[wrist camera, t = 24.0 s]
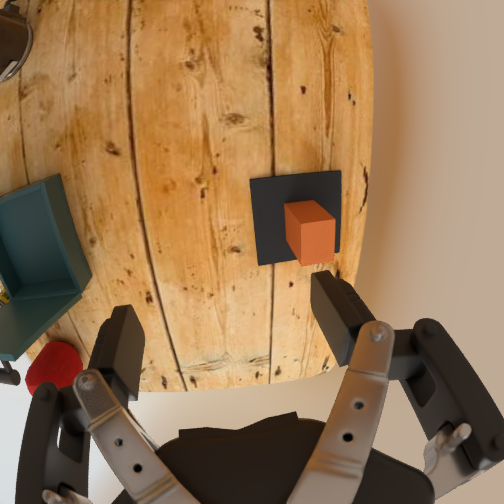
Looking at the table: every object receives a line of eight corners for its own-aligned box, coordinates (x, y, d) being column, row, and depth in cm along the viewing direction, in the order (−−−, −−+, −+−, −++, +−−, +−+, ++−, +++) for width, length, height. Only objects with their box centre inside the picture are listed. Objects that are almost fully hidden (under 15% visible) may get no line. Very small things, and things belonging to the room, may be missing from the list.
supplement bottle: (22, 287, 35) (0, 318, 27) (26, 308, 37) (6, 339, 29) (3, 279, 33) (-20, 308, 26) (7, 300, 35) (-13, 329, 28)
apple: (35, 336, 40) (10, 388, 28) (67, 326, 39) (41, 385, 27) (66, 371, 45) (50, 423, 33) (100, 365, 44) (85, 423, 33)
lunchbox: (-10, 201, 27) (-26, 211, 24) (59, 173, 29) (43, 181, 25) (22, 287, 35) (11, 301, 31) (92, 276, 36) (82, 292, 32)
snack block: (284, 203, 35) (300, 223, 29) (313, 199, 35) (335, 218, 29) (286, 240, 37) (301, 266, 31) (314, 235, 38) (334, 260, 32)
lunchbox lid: (-55, 347, 15) (-36, 385, 16) (11, 354, 16) (37, 402, 17) (9, 301, 30) (20, 332, 32) (80, 292, 32) (92, 328, 33)
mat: (249, 179, 33) (249, 179, 33) (340, 170, 34) (341, 171, 34) (258, 264, 39) (258, 265, 39) (338, 251, 40) (339, 252, 40)
